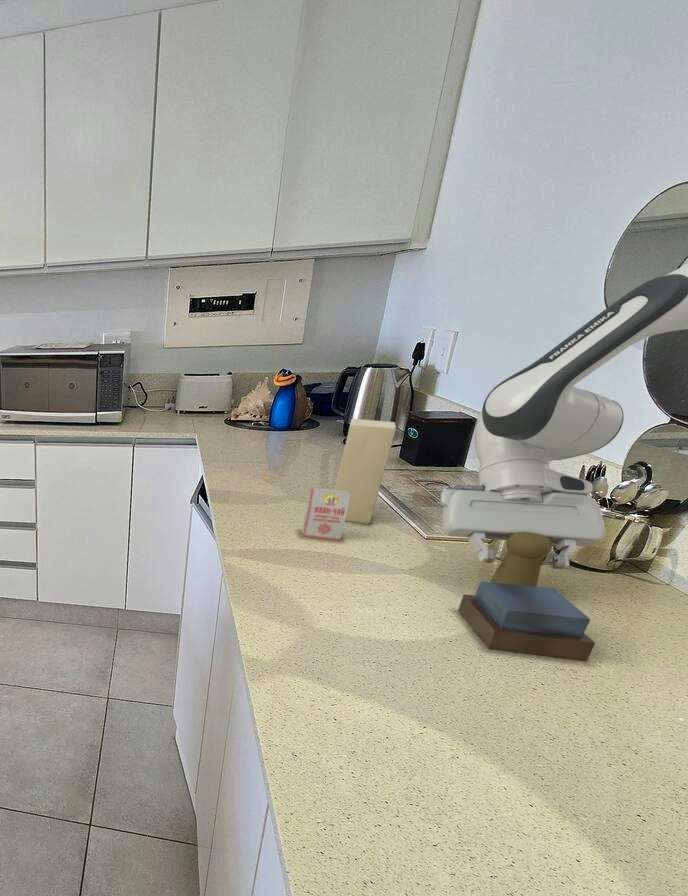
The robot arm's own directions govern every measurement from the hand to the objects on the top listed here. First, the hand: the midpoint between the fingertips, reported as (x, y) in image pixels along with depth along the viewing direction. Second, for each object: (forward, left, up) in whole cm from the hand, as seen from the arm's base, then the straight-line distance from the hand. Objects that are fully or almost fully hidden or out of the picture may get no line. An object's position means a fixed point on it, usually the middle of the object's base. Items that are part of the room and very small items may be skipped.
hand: (523, 564), depth 92 cm
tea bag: (+24, -21, -6) cm, 32 cm away
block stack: (+4, +13, -6) cm, 14 cm away
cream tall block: (+16, -34, -6) cm, 38 cm away
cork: (0, -1, -6) cm, 6 cm away
